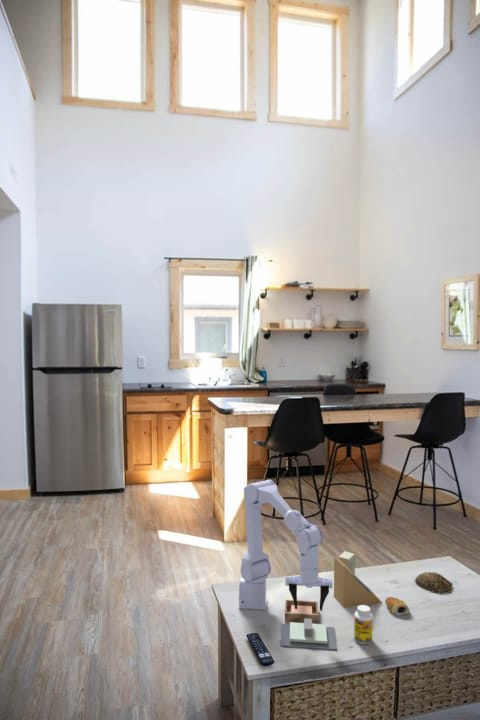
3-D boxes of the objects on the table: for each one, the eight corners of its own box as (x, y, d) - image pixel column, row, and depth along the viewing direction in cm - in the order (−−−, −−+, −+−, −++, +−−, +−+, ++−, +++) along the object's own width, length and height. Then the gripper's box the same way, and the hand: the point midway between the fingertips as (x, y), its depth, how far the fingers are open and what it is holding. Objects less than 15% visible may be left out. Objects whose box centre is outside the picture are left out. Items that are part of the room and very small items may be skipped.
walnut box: (284, 621, 176) (284, 613, 176) (285, 607, 185) (285, 599, 184) (318, 624, 175) (318, 615, 174) (317, 609, 183) (317, 601, 183)
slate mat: (280, 646, 162) (280, 645, 162) (281, 624, 174) (281, 623, 174) (336, 650, 160) (336, 649, 160) (334, 628, 172) (334, 627, 172)
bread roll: (410, 582, 205) (410, 569, 205) (434, 576, 211) (434, 563, 210) (435, 597, 194) (435, 583, 194) (460, 590, 199) (460, 577, 199)
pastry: (380, 603, 189) (380, 592, 189) (397, 601, 190) (398, 591, 190) (393, 617, 180) (393, 606, 179) (411, 615, 181) (411, 604, 181)
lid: (289, 642, 163) (289, 630, 163) (290, 626, 172) (290, 614, 172) (327, 645, 162) (327, 633, 162) (325, 628, 171) (325, 616, 171)
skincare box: (344, 581, 205) (345, 550, 204) (355, 584, 202) (355, 553, 201) (337, 588, 199) (337, 556, 199) (348, 591, 197) (348, 559, 196)
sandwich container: (383, 603, 189) (384, 561, 188) (343, 608, 185) (344, 566, 184) (371, 591, 197) (372, 552, 196) (333, 596, 193) (334, 556, 193)
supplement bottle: (352, 642, 164) (353, 610, 164) (355, 633, 169) (356, 602, 169) (371, 646, 162) (371, 614, 162) (373, 637, 167) (374, 605, 167)
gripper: (285, 570, 163) (284, 613, 163) (333, 572, 161) (332, 616, 162) (285, 560, 170) (285, 602, 170) (332, 562, 168) (331, 604, 169)
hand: (308, 608), depth 167 cm, fingers open, 7 cm apart
